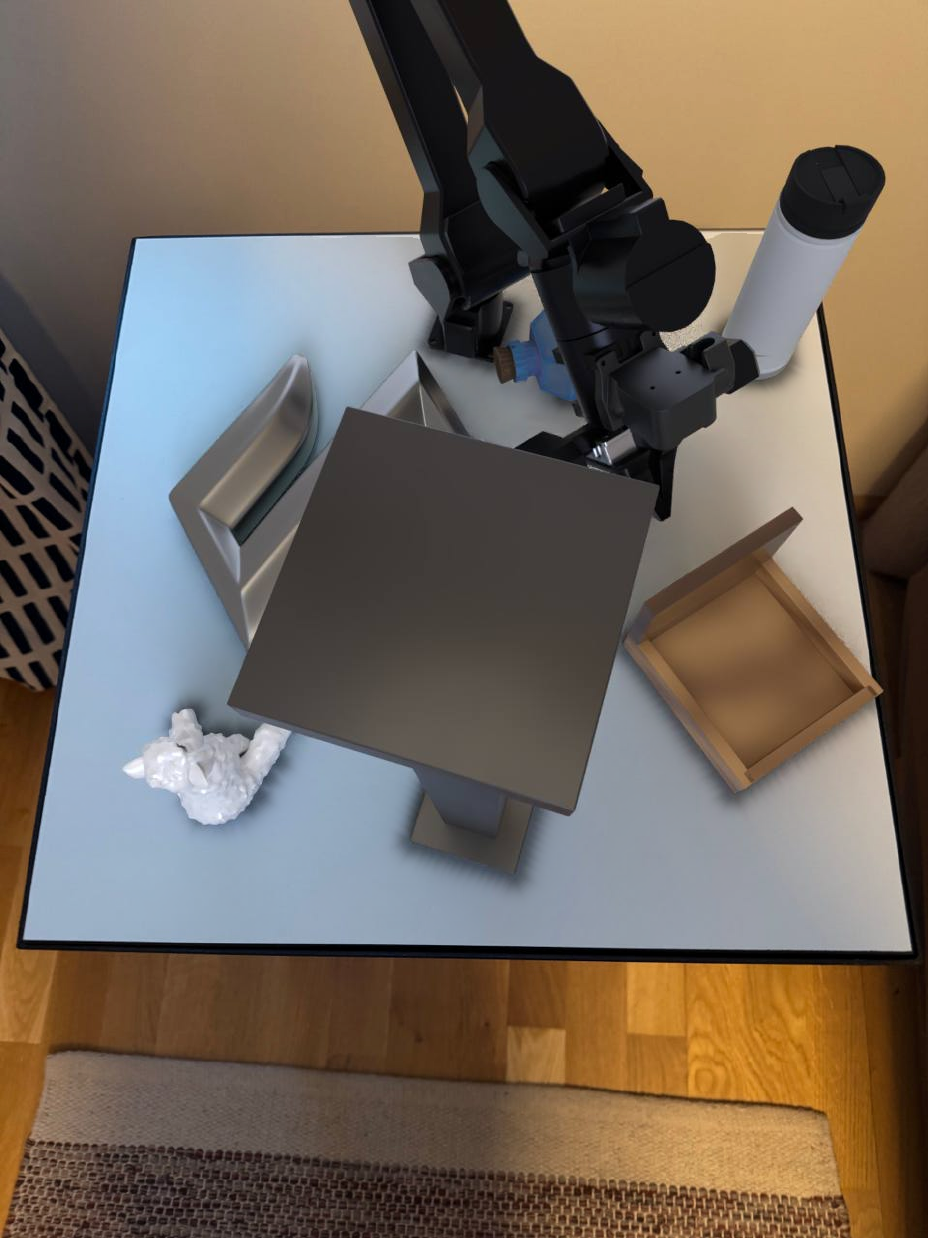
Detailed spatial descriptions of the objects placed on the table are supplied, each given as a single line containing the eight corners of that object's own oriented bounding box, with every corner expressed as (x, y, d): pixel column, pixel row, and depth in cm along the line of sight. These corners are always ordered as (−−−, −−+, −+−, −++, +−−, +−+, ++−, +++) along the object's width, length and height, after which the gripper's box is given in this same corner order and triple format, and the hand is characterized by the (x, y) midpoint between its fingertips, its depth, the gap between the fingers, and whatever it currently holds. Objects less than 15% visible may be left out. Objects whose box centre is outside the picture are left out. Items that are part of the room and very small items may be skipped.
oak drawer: (622, 644, 67) (644, 601, 57) (750, 560, 69) (792, 505, 59) (733, 793, 63) (777, 774, 53) (867, 700, 65) (931, 665, 55)
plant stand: (443, 740, 65) (346, 404, 21) (543, 770, 64) (660, 485, 20) (410, 842, 62) (225, 704, 19) (514, 875, 61) (575, 811, 18)
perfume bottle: (616, 328, 76) (488, 358, 75) (626, 281, 70) (488, 312, 70) (637, 385, 74) (506, 415, 74) (650, 340, 68) (507, 373, 68)
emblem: (187, 328, 71) (516, 340, 70) (208, 366, 76) (514, 378, 75) (124, 644, 62) (499, 664, 61) (151, 663, 67) (498, 682, 66)
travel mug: (730, 390, 74) (814, 214, 55) (709, 329, 76) (782, 139, 57) (799, 377, 74) (906, 197, 55) (775, 316, 76) (870, 123, 57)
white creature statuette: (298, 719, 65) (257, 681, 54) (282, 832, 63) (236, 817, 51) (179, 711, 66) (114, 672, 54) (158, 823, 63) (85, 806, 52)
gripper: (532, 403, 47) (619, 619, 55) (790, 252, 50) (839, 477, 57) (460, 384, 57) (542, 570, 64) (680, 258, 60) (734, 450, 67)
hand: (662, 518), depth 63 cm, fingers closed
